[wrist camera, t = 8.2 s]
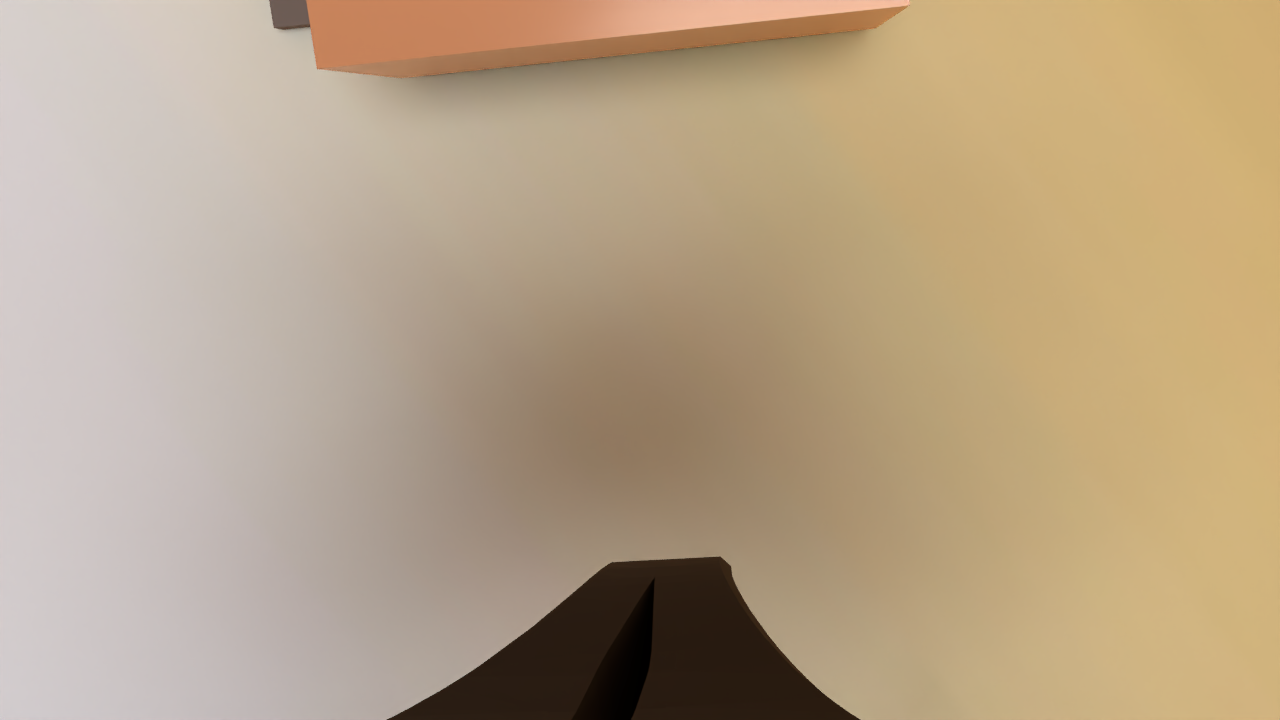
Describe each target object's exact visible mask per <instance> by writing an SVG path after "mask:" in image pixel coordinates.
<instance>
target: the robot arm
mask: <svg viewBox="0 0 1280 720" xmlns="http://www.w3.org/2000/svg"><path fill="white" fill-rule="evenodd" d="M387 720H860V719H859V718H857V717H855V716H854V715H852V714H850V713H849V712H847V711H846V710H845V709H843V708H842V707H840V706H839V705H838V704H836V703H835V702H833V701H832V700H831V699H829V698H828V697H827V696H826V695H825V694H823V693H822V692H821V691H820V690H819V689H817V688H816V687H815V686H814V685H813V684H812V683H811V682H810V681H809V680H808V679H807V678H806V677H805V676H804V675H803V674H802V673H801V672H800V671H799V670H798V669H797V668H796V667H795V666H794V665H793V664H792V663H791V662H790V660H789V659H788V658H787V657H786V656H785V655H784V654H783V653H782V652H781V650H780V649H779V648H778V647H777V646H776V644H775V643H774V642H773V641H772V640H771V638H770V637H769V636H768V635H767V633H766V632H765V630H764V629H763V628H762V626H761V625H760V623H759V622H758V621H757V619H756V618H755V616H754V615H753V614H752V612H751V611H750V609H749V608H748V606H747V604H746V603H745V601H744V599H743V598H742V596H741V594H740V592H739V590H738V588H737V586H736V584H735V582H734V580H733V577H732V571H731V566H730V565H729V564H728V563H727V562H726V561H725V560H723V559H722V558H721V557H704V558H686V559H667V560H648V561H630V562H612V563H610V564H608V565H607V566H605V567H604V568H602V569H601V570H600V571H599V572H597V573H596V574H595V575H594V576H592V577H591V578H590V579H589V580H588V581H587V582H585V583H584V584H583V585H582V586H581V587H580V588H578V589H577V590H576V591H575V592H574V593H573V594H571V595H570V596H569V597H568V598H567V599H566V600H564V601H563V602H562V603H561V604H560V605H558V606H557V607H556V608H555V609H554V610H552V611H551V612H550V613H549V614H547V615H546V616H545V617H544V618H543V619H541V620H540V621H539V622H538V623H537V624H535V625H534V626H533V627H532V628H530V629H529V630H528V631H526V632H525V633H524V634H522V635H521V636H520V637H518V638H517V639H516V640H514V641H513V642H511V643H510V644H509V645H507V646H506V647H505V648H503V649H502V650H501V651H499V652H498V653H496V654H495V655H494V656H492V657H491V658H490V659H488V660H487V661H486V662H484V663H483V664H481V665H480V666H479V667H477V668H476V669H474V670H473V671H471V672H470V673H468V674H467V675H465V676H464V677H462V678H460V679H459V680H457V681H456V682H454V683H452V684H451V685H449V686H448V687H446V688H444V689H443V690H441V691H439V692H437V693H435V694H434V695H432V696H430V697H428V698H427V699H425V700H423V701H421V702H420V703H418V704H416V705H414V706H413V707H411V708H409V709H407V710H405V711H403V712H401V713H399V714H398V715H396V716H394V717H392V718H389V719H387Z"/></svg>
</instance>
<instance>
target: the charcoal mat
mask: <svg viewBox="0 0 1280 720" xmlns="http://www.w3.org/2000/svg"><path fill="white" fill-rule="evenodd" d="M269 1H270V7H271V13H272V19H273V25H274V28H277V29H292V28H301V27H310V21H309V15H308V9H307V2H306V0H269Z"/></svg>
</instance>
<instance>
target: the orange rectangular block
mask: <svg viewBox="0 0 1280 720" xmlns="http://www.w3.org/2000/svg"><path fill="white" fill-rule="evenodd" d="M306 2H307V9H308V15H309V21H310V27H311V34H312V40H313V46H314V53H315V59H316V65H317V69H322V70H331V71H340V72H349V73H358V74H367V75H376V76H385V77H395V78H407V77H417V76H427V75H436V74H446V73H455V72H465V71H474V70H484V69H493V68H503V67H512V66H522V65H531V64H541V63H550V62H560V61H569V60H579V59H588V58H598V57H607V56H617V55H626V54H636V53H645V52H655V51H664V50H674V49H684V48H693V47H703V46H712V45H722V44H731V43H741V42H750V41H760V40H769V39H779V38H788V37H798V36H807V35H817V34H826V33H836V32H845V31H855V30H864V29H874V28H877V27H878V26H880V25H881V24H883V23H884V22H886V21H887V20H889V19H890V18H892V17H893V16H895V15H896V14H898V13H899V12H901V11H902V10H904V9H905V8H907V7H908V6H910V0H306Z"/></svg>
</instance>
